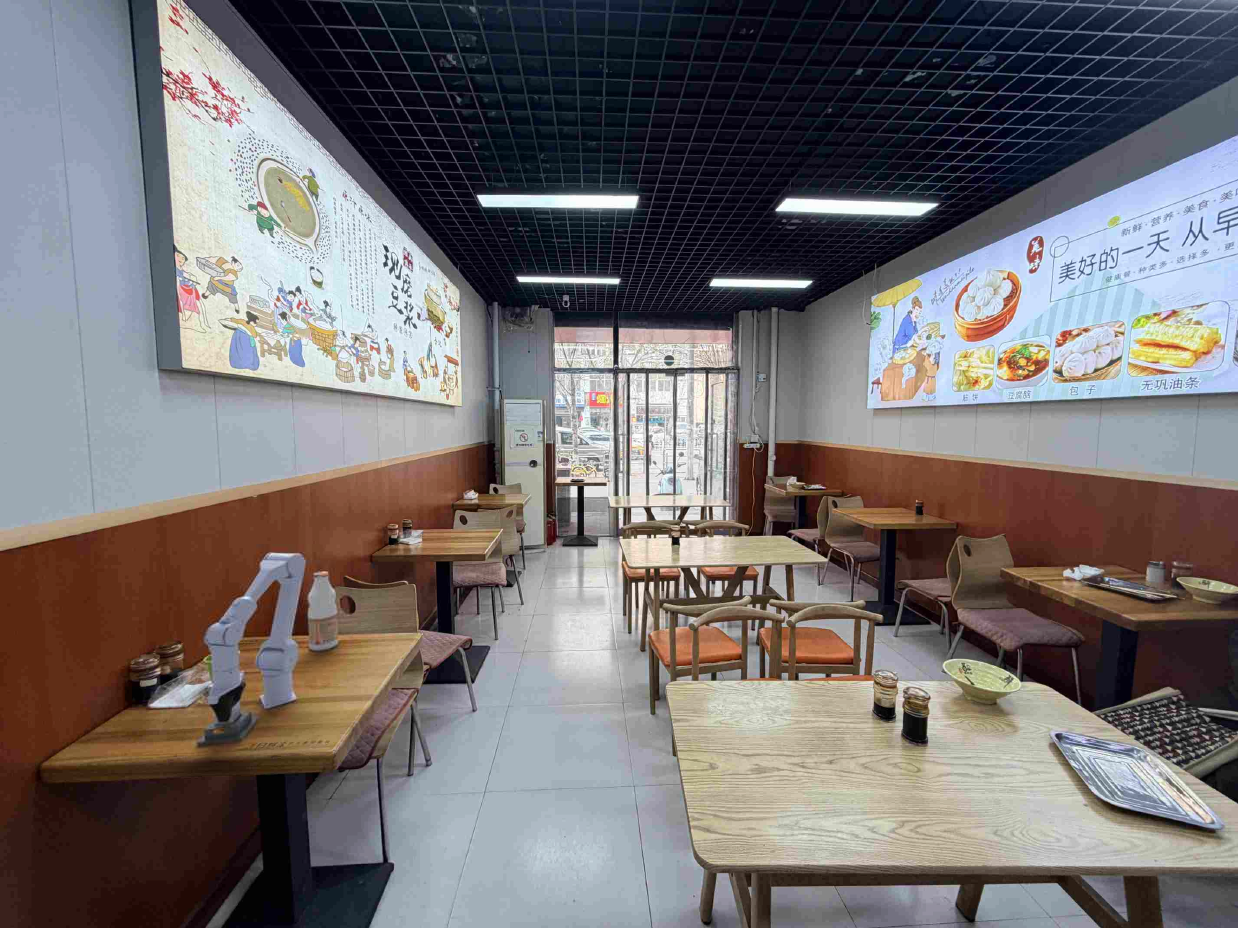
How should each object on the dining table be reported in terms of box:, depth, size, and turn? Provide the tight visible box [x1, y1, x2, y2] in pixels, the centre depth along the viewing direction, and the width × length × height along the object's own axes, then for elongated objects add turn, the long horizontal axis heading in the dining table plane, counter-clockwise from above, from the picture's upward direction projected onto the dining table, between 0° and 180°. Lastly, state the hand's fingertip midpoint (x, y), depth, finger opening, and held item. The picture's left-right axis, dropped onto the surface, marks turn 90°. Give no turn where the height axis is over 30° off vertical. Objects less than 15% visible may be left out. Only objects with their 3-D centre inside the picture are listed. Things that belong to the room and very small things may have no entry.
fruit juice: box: [307, 571, 339, 651], centre depth 193 cm, size 9×9×28 cm
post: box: [214, 699, 242, 726], centre depth 138 cm, size 4×4×6 cm
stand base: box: [196, 710, 260, 747], centre depth 138 cm, size 10×10×4 cm
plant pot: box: [203, 649, 241, 684], centre depth 166 cm, size 9×9×9 cm
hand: (228, 716), depth 138 cm, fingers closed on post, 4 cm apart
